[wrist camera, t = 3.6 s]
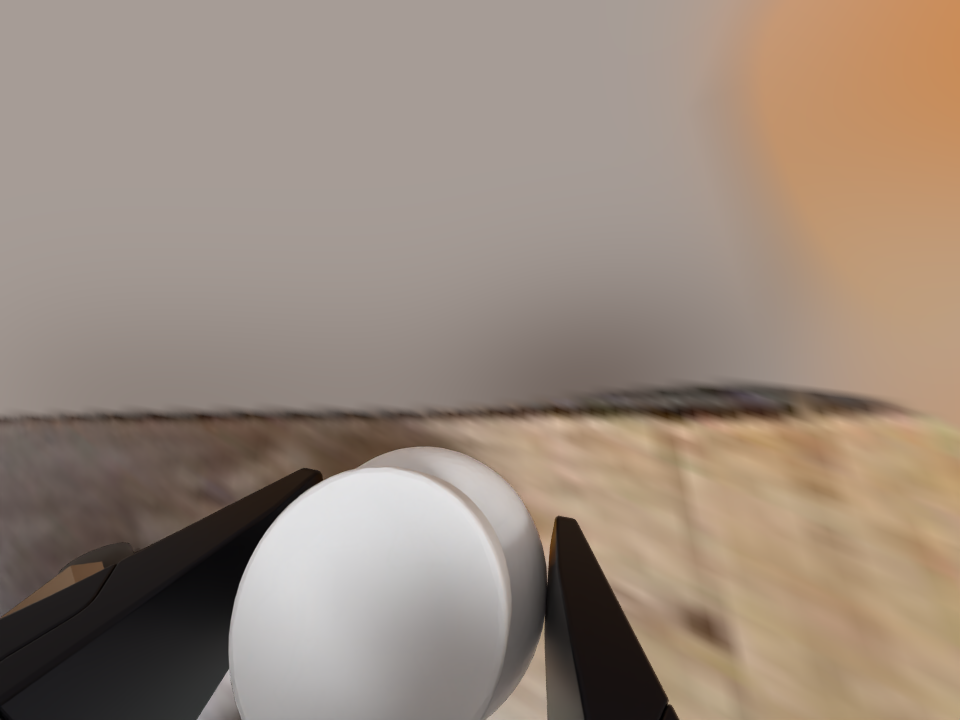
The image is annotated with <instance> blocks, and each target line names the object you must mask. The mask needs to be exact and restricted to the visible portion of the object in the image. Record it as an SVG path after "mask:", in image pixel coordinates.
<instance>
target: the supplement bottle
mask: <svg viewBox="0 0 960 720" xmlns="http://www.w3.org/2000/svg"><path fill="white" fill-rule="evenodd" d="M546 598H547V569H546V562H545V556H544V551H543V547H542V543H541V540H540V536H539V533H538V531H537V528H536V526H535V523H534V521H533V519H532V517H531V515H530V513H529V511H528V509H527V508H526V506H525V504H524V503H523V501H522V500H521V498H520V497H519V495H518V494H517V493H516V491H515V490H514V489H513V488H512V486H511V485H510V484H509V483H508V482H507V481H506V480H505V479H504V478H503V477H501V476H500V475H499V474H498V473H496V472H495V471H494V470H492V469H491V468H489V467H488V466H486V465H485V464H483V463H481V462H480V461H478V460H476V459H474V458H472V457H470V456H468V455H466V454H463V453H460V452H457V451H453V450H449V449H445V448H439V447H428V446H427V447H410V448H403V449H398V450H394V451H390V452H388V453H385V454H382V455H379V456H377V457H375V458H373V459H371V460H369V461H367V462H366V463H364V464H362V465H361V466H359V467H357V468H356V469H352V470H348V471H344V472H341V473H339V474H336V475H333V476H331V477H329V478H327V479H325V480H323V481H321V482H320V483H318V484H316V485H315V486H313V487H311V488H310V489H308V490H307V491H305V492H304V493H303V494H301V495H300V496H299V497H298V498H296V499H295V500H294V501H293V502H292V503H291V504H289V505H288V506H287V507H286V508H285V510H284V511H283V512H282V513H281V514H280V515H279V516H278V517H277V518H276V519H275V521H274V522H273V523H272V524H271V526H270V527H269V528H268V529H267V531H266V532H265V534H264V535H263V537H262V538H261V540H260V541H259V543H258V545H257V547H256V549H255V550H254V552H253V554H252V556H251V558H250V560H249V562H248V564H247V566H246V568H245V571H244V573H243V576H242V578H241V581H240V583H239V587H238V591H237V594H236V597H235V601H234V606H233V611H232V616H231V622H230V631H229V652H228V654H229V670H230V678H231V685H232V689H233V694H234V698H235V702H236V705H237V708H238V711H239V714H240V717H241V719H242V720H485V719H487V718H488V717H489V716H491V715H492V714H493V713H494V712H495V711H496V710H497V709H498V708H499V707H500V706H501V705H502V704H503V703H504V702H505V701H506V700H507V698H508V697H509V696H510V695H511V693H512V692H513V691H514V690H515V688H516V687H517V685H518V684H519V682H520V681H521V679H522V677H523V676H524V674H525V672H526V670H527V668H528V666H529V664H530V662H531V660H532V658H533V656H534V653H535V651H536V648H537V645H538V642H539V639H540V636H541V632H542V628H543V623H544V618H545V611H546Z"/></svg>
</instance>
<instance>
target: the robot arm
mask: <svg viewBox="0 0 960 720" xmlns="http://www.w3.org/2000/svg"><path fill="white" fill-rule="evenodd" d="M321 481H323V477H322V474H321V472H320V471H318V470H313V469H308V468H303V469H300V470H298V471H296V472H294V473H292V474H290V475H288V476H286V477H284V478H282V479H280V480H278V481H276V482H274V483H272V484H270V485H268V486H267V487H265V488H263V489H261V490H259V491H257V492H255V493H253V494H251V495H249V496H247V497H245V498H243V499H241V500H239V501H237V502H235V503H233V504H231V505H229V506H227V507H225V508H223V509H221V510H219V511H217V512H215V513H213V514H211V515H209V516H207V517H205V518H203V519H201V520H199V521H197V522H195V523H194V524H192V525H190V526H188V527H186V528H184V529H182V530H180V531H178V532H176V533H174V534H172V535H170V536H168V537H166V538H164V539H162V540H160V541H158V542H156V543H154V544H152V545H150V546H148V547H146V548H144V549H142V550H140V551H138V552H136V553H134V554H132V555H130V556H128V557H126V558H124V559H122V560H121V561H119V562H118V564H112V565H110V566H108V567H106V568H104V569H102V570H101V571H99V572H97V573H95V574H93V575H91V576H89V577H87V578H85V579H83V580H81V581H78V582H76V583H74V584H72V585H70V586H68V587H66V588H64V589H62V590H60V591H58V592H56V593H54V594H52V595H50V596H48V597H46V598H44V599H41V600H39V601H37V602H35V603H33V604H31V605H28V606H26V607H24V608H22V609H20V610H18V611H15V612H13V613H11V614H9V615H7V616H5V617H2V618H0V720H197V718H198V717H199V715H200V714H201V712H202V710H203V709H204V707H205V706H206V704H207V703H208V701H209V699H210V698H211V696H212V695H213V693H214V692H215V690H216V688H217V687H218V685H219V684H220V682H221V680H222V679H223V677H224V676H225V674H226V673H227V671H228V669H229V654H228V652H229V631H230V622H231V616H232V611H233V606H234V601H235V597H236V594H237V591H238V587H239V583H240V581H241V578H242V576H243V573H244V571H245V568H246V566H247V564H248V562H249V560H250V558H251V556H252V554H253V552H254V550H255V549H256V547H257V545H258V543H259V541H260V540H261V538H262V537H263V535H264V534H265V532H266V531H267V529H268V528H269V527H270V526H271V524H272V523H273V522H274V521H275V519H276V518H277V517H278V516H279V515H280V514H281V513H282V512H283V511H284V510H285V508H286V507H287V506H288V505H289V504H291V503H292V502H293V501H294V500H295V499H296V498H298V497H299V496H300V495H301V494H303V493H304V492H305V491H307V490H308V489H310V488H311V487H313V486H315V485H316V484H318V483H320V482H321ZM545 664H546V690H547V717H548V720H679V718H678V716H677V714H676V712H675V710H674V708H673V707H672V705H670V704H668V701H669V700H668V697H667V695H666V693H665V691H664V689H663V688H662V686H661V684H660V682H659V680H658V678H657V676H656V674H655V672H654V670H653V668H652V666H651V664H650V662H649V660H648V658H647V657H646V655H645V653H644V651H643V649H642V647H641V645H640V643H639V641H638V639H637V637H636V635H635V633H634V631H633V629H632V627H631V625H630V624H629V622H628V620H627V618H626V616H625V614H624V612H623V610H622V608H621V606H620V604H619V602H618V600H617V598H616V596H615V594H614V593H613V591H612V589H611V587H610V585H609V583H608V581H607V579H606V577H605V575H604V573H603V571H602V569H601V567H600V565H599V563H598V561H597V560H596V558H595V556H594V554H593V552H592V550H591V548H590V546H589V544H588V542H587V540H586V538H585V536H584V534H583V532H582V530H581V529H580V527H579V525H578V523H577V521H576V520H575V519H573V518H568V517H563V516H557V517H556V518H555V522H554V527H553V533H552V539H551V544H550V554H549V568H548V582H547V598H546V611H545ZM667 704H668V705H667Z"/></svg>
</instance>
